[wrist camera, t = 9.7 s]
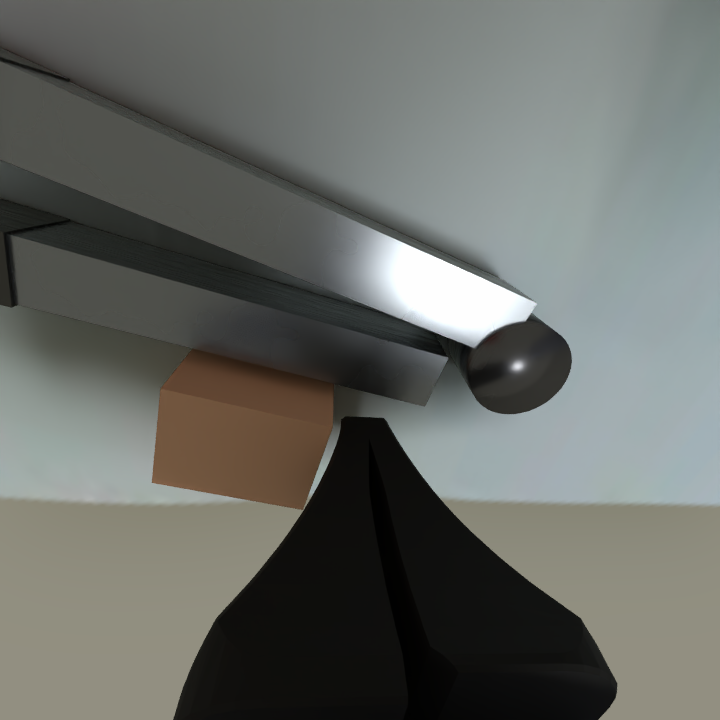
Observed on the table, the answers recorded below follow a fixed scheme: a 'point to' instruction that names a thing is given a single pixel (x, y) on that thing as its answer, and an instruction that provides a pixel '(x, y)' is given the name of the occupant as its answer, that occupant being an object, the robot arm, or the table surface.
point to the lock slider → (241, 430)
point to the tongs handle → (209, 307)
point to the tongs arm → (279, 229)
